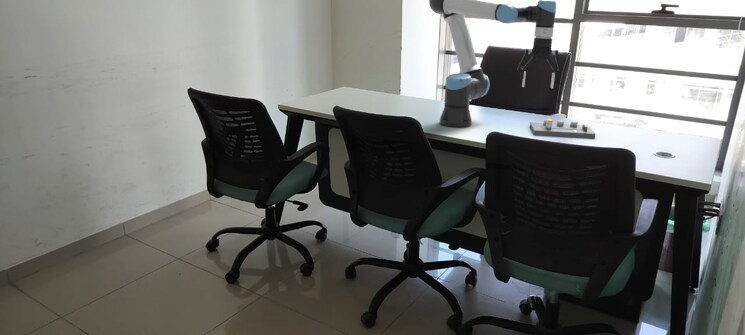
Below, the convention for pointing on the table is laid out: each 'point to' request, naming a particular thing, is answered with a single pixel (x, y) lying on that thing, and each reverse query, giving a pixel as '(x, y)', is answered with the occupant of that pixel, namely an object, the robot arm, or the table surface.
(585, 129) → the console
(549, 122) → the fader
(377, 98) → the table surface
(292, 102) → the table surface
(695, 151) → the table surface
